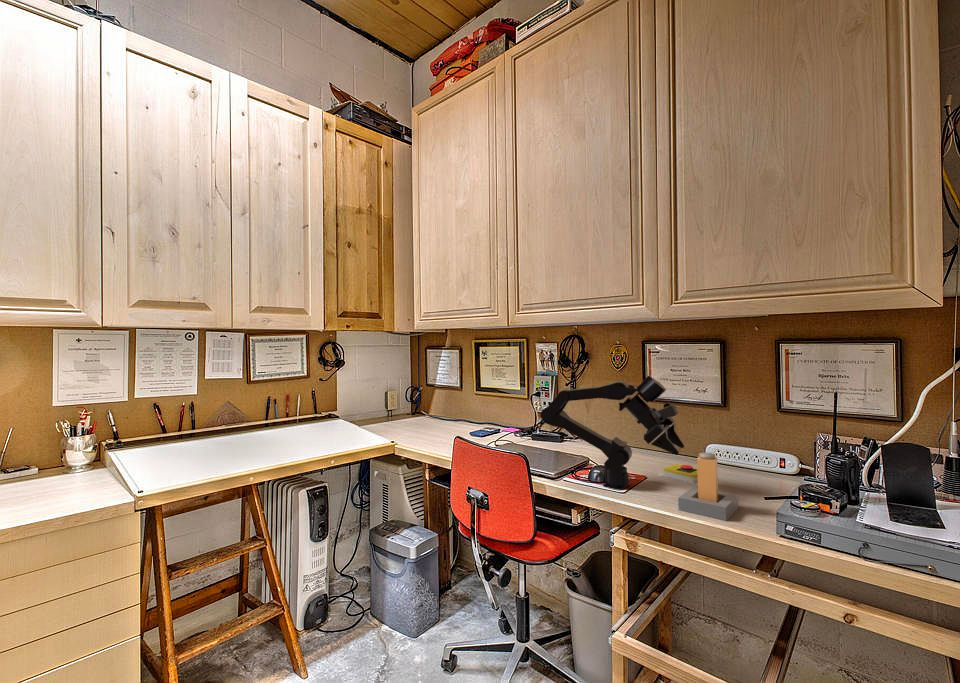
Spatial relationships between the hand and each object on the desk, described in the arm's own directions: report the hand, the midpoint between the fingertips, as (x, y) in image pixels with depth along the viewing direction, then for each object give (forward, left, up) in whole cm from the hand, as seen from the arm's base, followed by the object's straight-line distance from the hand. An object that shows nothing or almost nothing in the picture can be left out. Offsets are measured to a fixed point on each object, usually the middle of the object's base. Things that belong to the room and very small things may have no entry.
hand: (680, 450), depth 138 cm
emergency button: (-6, +19, -14) cm, 24 cm away
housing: (+10, -7, -14) cm, 18 cm away
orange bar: (+10, -7, -12) cm, 17 cm away
